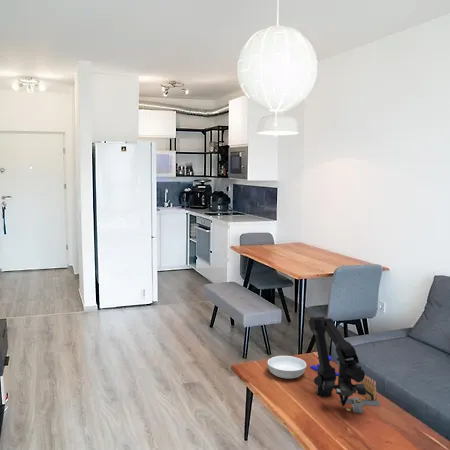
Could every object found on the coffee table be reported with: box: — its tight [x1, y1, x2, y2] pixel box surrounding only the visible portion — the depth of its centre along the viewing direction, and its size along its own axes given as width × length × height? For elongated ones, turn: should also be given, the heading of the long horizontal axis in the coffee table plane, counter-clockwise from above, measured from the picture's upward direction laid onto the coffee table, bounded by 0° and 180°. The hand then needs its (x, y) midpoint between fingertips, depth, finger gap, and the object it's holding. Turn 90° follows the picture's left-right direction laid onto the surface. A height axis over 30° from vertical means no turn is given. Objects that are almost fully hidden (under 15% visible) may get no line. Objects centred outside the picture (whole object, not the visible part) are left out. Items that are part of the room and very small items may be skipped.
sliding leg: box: [351, 395, 364, 414], centre depth 213 cm, size 4×8×5 cm, turn 173°
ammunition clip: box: [360, 373, 377, 400], centre depth 224 cm, size 11×2×12 cm, turn 20°
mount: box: [309, 354, 339, 377], centre depth 256 cm, size 15×8×9 cm, turn 30°
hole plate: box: [339, 397, 381, 412], centre depth 212 cm, size 18×13×3 cm
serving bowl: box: [267, 355, 307, 380], centre depth 251 cm, size 21×21×7 cm
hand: (343, 405), depth 212 cm, fingers closed
